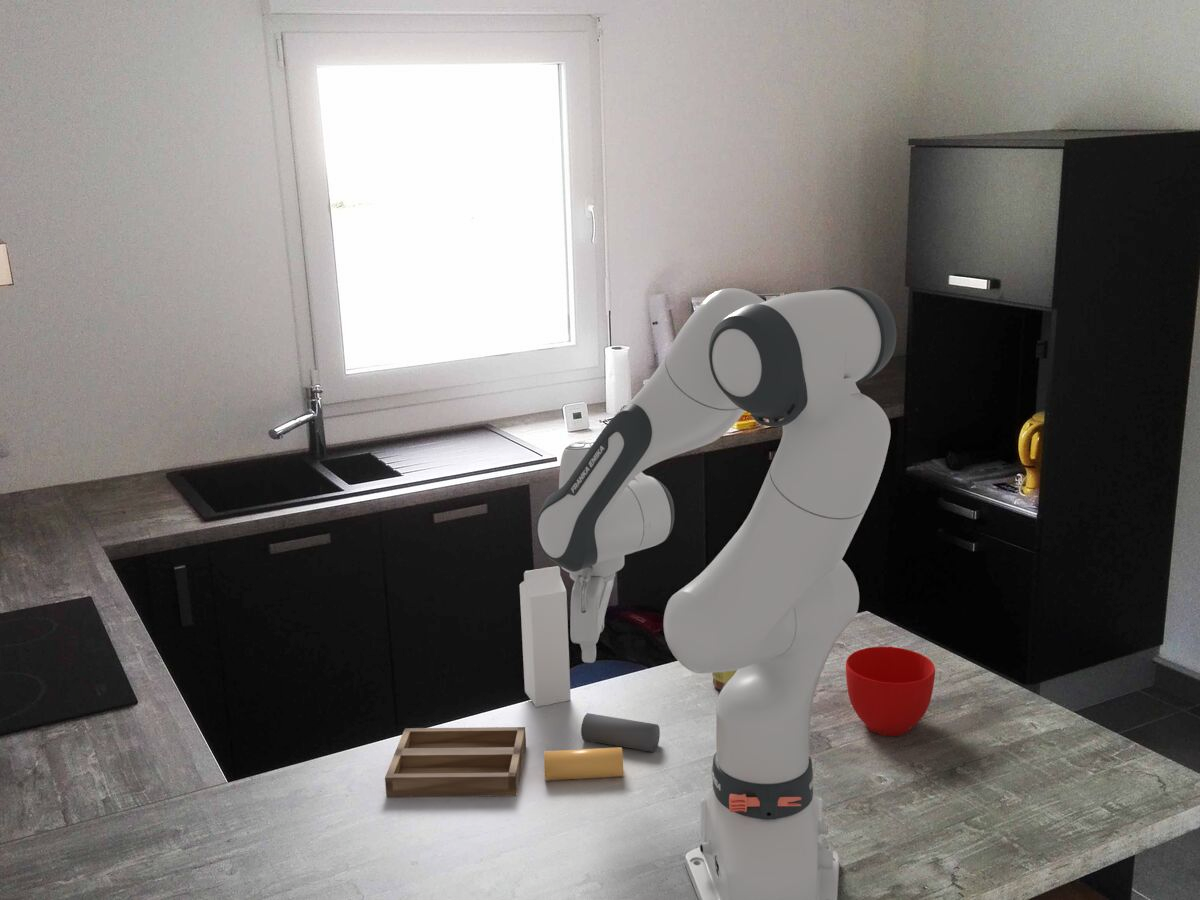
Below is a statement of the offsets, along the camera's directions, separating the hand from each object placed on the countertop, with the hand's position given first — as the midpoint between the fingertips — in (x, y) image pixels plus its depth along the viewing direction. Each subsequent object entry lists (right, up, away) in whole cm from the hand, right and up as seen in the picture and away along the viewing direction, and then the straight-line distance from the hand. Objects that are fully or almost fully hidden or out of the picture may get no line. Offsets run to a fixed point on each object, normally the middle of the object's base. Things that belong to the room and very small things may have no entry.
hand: (593, 645), depth 163 cm
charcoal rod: (+4, -17, +10) cm, 19 cm away
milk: (-8, -13, +26) cm, 30 cm away
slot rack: (-19, -19, +4) cm, 27 cm away
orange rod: (-1, -19, +2) cm, 19 cm away
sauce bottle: (+22, -11, +27) cm, 37 cm away
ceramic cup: (+45, -14, +15) cm, 49 cm away
